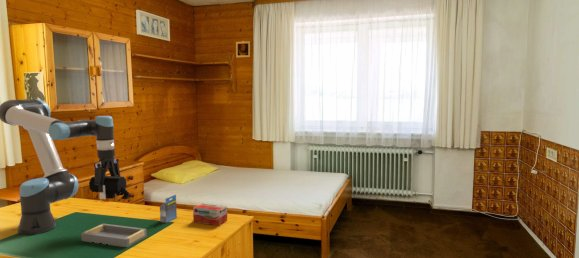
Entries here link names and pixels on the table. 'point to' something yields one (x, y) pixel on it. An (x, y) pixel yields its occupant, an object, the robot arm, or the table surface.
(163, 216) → the label tape cartridge
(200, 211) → the medicine box
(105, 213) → the table surface
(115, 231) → the tester cradle
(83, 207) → the table surface
